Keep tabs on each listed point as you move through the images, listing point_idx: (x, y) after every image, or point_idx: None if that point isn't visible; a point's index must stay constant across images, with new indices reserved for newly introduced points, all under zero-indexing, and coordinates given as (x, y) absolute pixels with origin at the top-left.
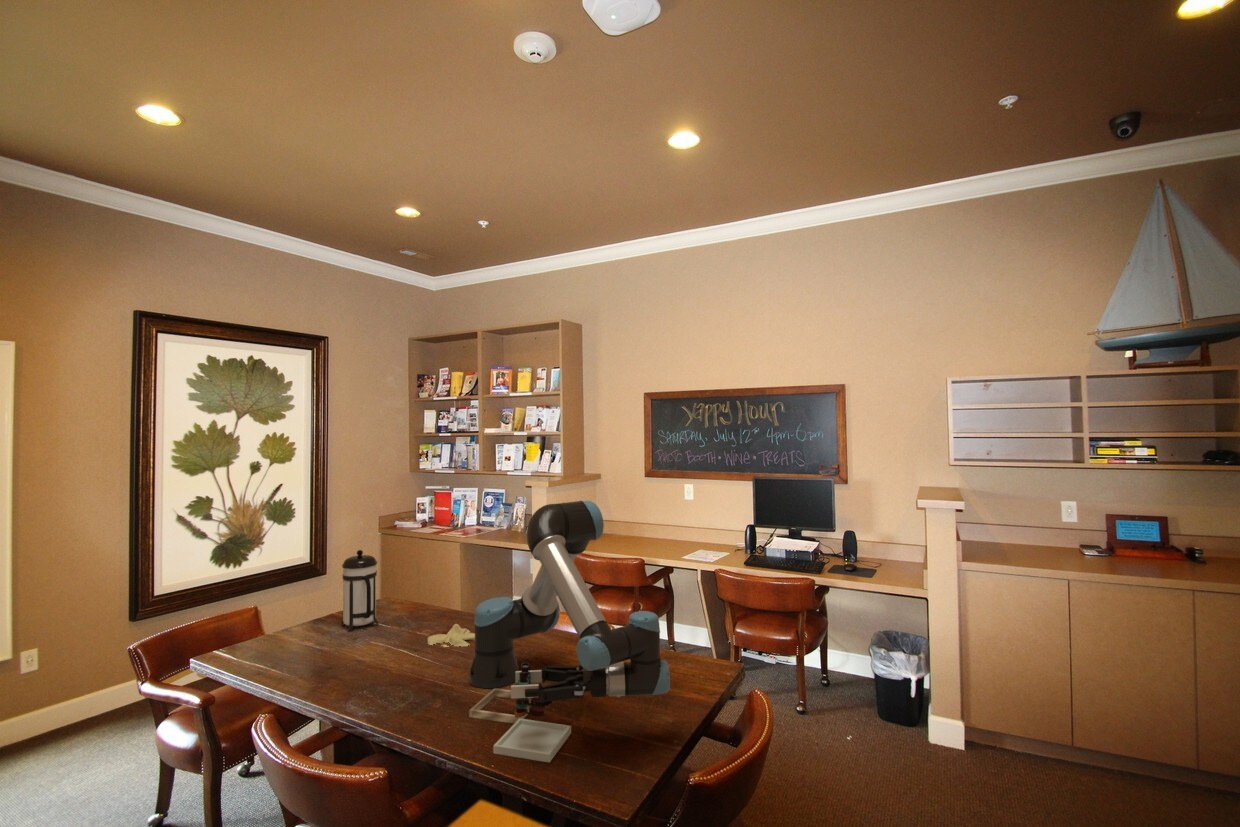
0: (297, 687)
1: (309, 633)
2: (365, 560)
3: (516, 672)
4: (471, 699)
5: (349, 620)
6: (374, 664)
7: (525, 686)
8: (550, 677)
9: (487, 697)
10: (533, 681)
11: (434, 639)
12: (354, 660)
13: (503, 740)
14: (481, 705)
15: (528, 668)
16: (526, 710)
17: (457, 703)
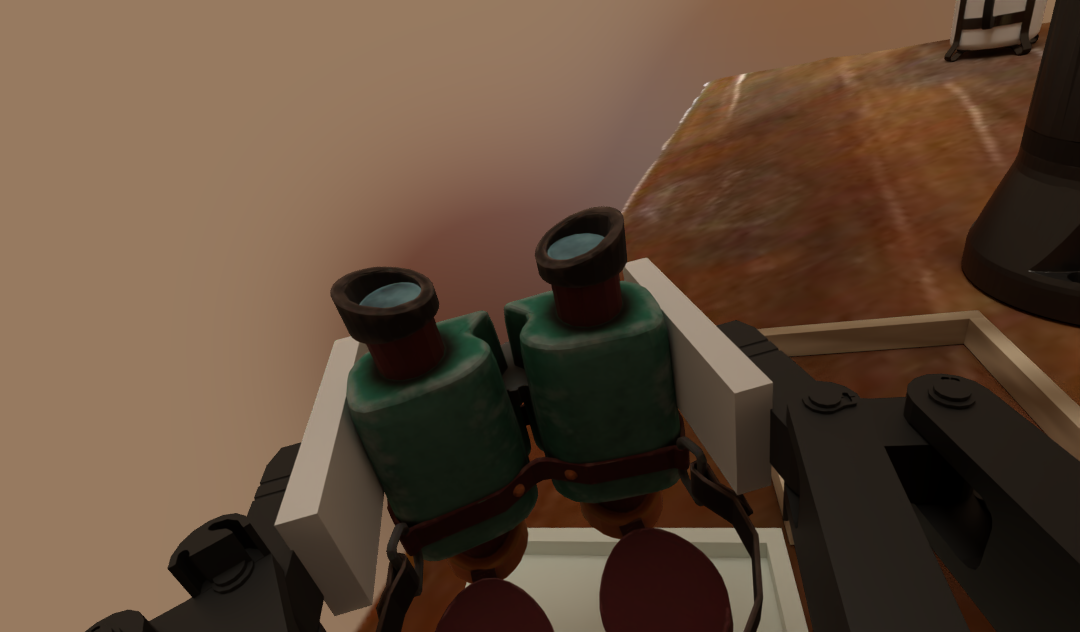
0: (695, 136)
1: (882, 59)
2: None
3: (626, 268)
4: (864, 303)
5: (955, 35)
6: (859, 127)
7: (310, 418)
8: (808, 555)
9: (882, 328)
10: (694, 424)
11: None
12: (846, 112)
13: (555, 548)
14: (824, 342)
15: (564, 279)
16: (480, 567)
17: (806, 290)
